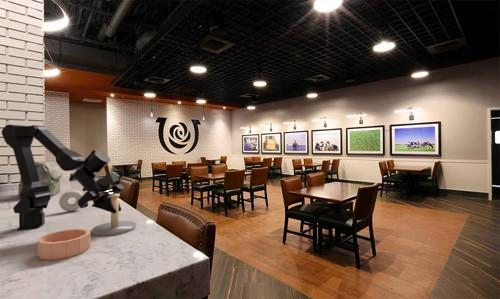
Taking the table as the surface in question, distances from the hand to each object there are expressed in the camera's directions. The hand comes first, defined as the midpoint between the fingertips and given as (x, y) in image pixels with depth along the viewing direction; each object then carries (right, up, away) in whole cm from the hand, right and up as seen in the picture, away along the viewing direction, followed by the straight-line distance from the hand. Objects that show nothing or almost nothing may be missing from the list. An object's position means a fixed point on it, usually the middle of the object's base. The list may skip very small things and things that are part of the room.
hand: (118, 211), depth 92 cm
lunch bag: (-85, -6, +68) cm, 109 cm away
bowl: (-5, -7, -19) cm, 21 cm away
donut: (-36, -7, +27) cm, 45 cm away
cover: (-1, -7, 0) cm, 7 cm away
